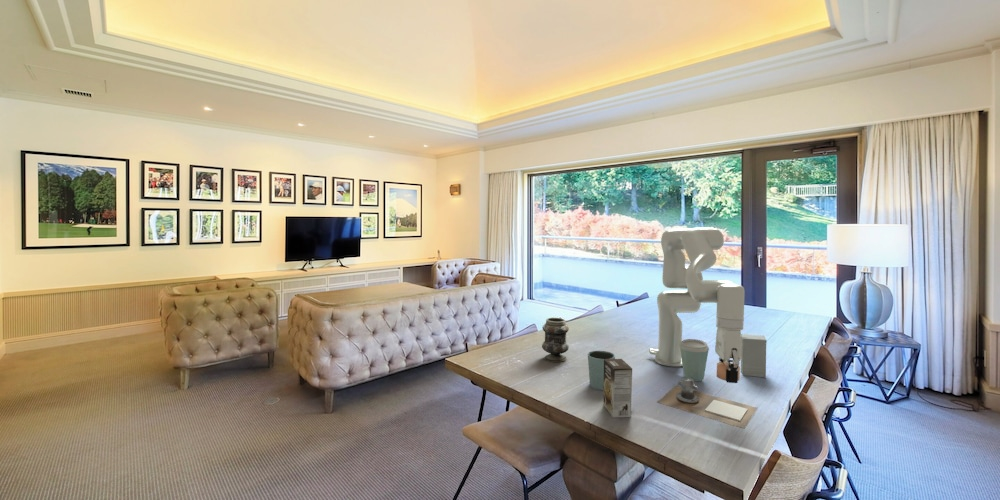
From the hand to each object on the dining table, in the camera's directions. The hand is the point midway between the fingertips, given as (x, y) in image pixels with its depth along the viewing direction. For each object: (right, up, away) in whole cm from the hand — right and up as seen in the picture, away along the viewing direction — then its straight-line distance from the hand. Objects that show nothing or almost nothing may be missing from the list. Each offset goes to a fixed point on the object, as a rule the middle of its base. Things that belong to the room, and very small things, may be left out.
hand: (727, 377), depth 129 cm
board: (-4, -12, +5) cm, 13 cm away
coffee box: (-35, -12, +3) cm, 37 cm away
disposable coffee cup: (+2, -10, +29) cm, 31 cm away
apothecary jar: (-48, -9, +54) cm, 73 cm away
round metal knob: (-9, -10, +9) cm, 16 cm away
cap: (0, 0, 0) cm, 0 cm away
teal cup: (-35, -11, +24) cm, 44 cm away
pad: (0, -11, +1) cm, 11 cm away
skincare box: (+29, -10, +34) cm, 46 cm away
